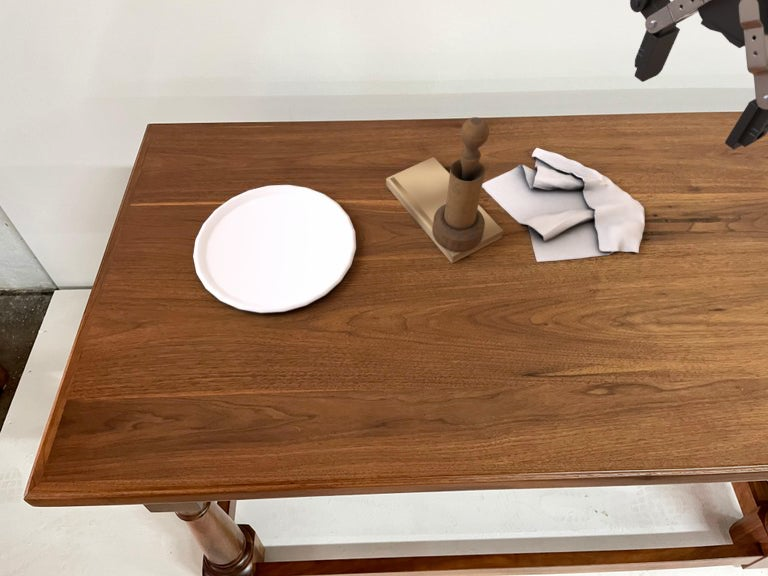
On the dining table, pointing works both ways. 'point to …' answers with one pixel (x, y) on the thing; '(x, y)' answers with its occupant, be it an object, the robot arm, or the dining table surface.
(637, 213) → the cloth
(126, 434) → the dining table surface
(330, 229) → the plate
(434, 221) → the mortar and pestle
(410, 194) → the cutting board
